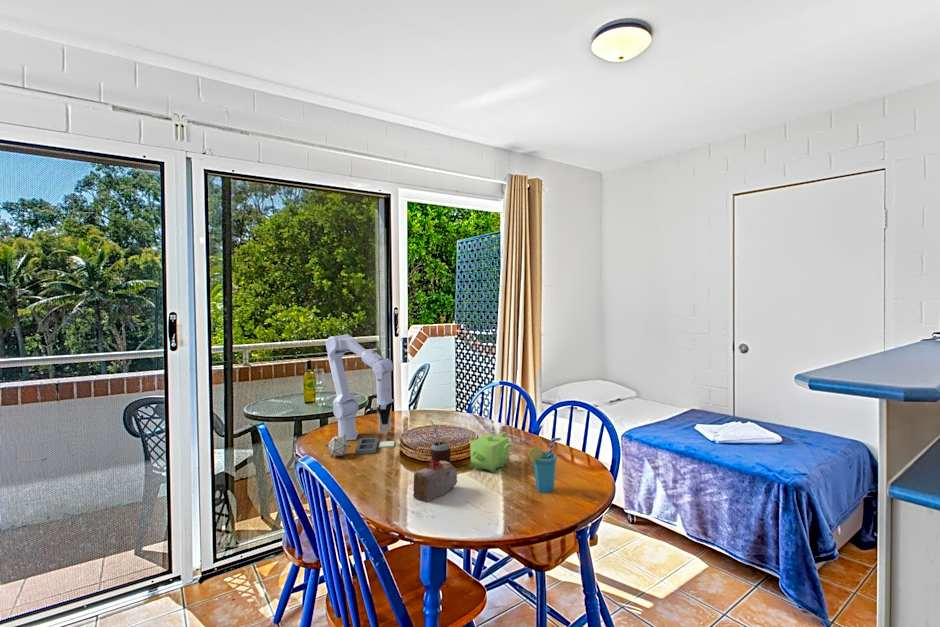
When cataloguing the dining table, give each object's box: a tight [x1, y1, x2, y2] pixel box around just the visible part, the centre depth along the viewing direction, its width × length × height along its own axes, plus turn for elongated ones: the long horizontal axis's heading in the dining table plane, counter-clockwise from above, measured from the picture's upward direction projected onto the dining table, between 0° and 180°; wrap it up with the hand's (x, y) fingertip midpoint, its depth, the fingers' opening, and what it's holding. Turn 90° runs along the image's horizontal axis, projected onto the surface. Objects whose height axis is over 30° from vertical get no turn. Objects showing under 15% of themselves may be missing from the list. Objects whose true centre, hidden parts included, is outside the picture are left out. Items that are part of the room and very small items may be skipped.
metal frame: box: [354, 436, 380, 456], centre depth 197 cm, size 15×8×2 cm, turn 6°
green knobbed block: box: [468, 431, 514, 473], centre depth 172 cm, size 15×14×11 cm
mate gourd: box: [430, 420, 452, 463], centre depth 175 cm, size 8×8×15 cm
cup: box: [526, 437, 562, 494], centre depth 152 cm, size 14×8×15 cm, turn 132°
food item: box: [413, 460, 458, 503], centre depth 152 cm, size 14×8×10 cm, turn 143°
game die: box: [324, 434, 352, 458], centre depth 188 cm, size 9×8×10 cm
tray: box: [378, 440, 396, 449], centre depth 200 cm, size 6×6×1 cm
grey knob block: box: [379, 413, 392, 432], centre depth 199 cm, size 4×4×7 cm
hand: (385, 422), depth 199 cm, fingers closed on grey knob block, 4 cm apart
